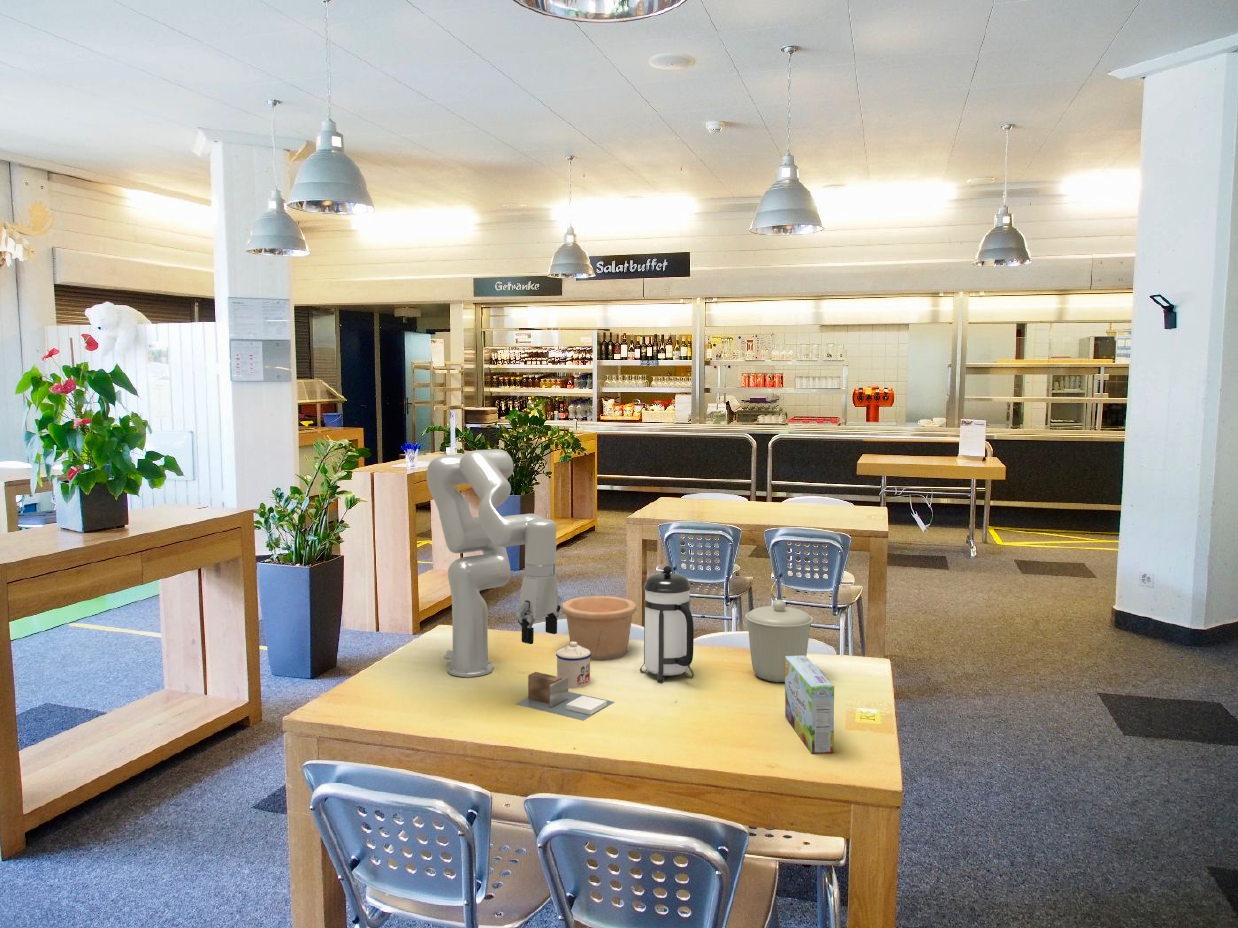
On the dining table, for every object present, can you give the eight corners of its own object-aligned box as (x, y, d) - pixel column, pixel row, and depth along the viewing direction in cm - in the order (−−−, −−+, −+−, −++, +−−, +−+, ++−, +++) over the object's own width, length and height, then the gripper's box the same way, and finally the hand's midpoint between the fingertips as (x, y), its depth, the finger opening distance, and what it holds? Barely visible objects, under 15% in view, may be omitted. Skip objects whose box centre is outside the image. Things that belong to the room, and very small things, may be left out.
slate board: (514, 707, 209) (514, 703, 209) (548, 690, 221) (548, 687, 221) (583, 724, 199) (583, 720, 198) (615, 705, 211) (615, 701, 210)
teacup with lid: (582, 693, 219) (582, 649, 218) (550, 689, 222) (550, 645, 221) (600, 679, 230) (600, 636, 229) (569, 675, 233) (569, 633, 232)
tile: (566, 704, 205) (590, 709, 201) (582, 695, 211) (606, 700, 207) (566, 709, 205) (590, 715, 202) (582, 700, 211) (606, 706, 208)
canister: (783, 692, 220) (785, 612, 218) (730, 675, 234) (731, 599, 232) (825, 677, 232) (827, 600, 230) (772, 661, 246) (773, 589, 244)
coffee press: (629, 680, 229) (630, 569, 226) (650, 663, 244) (650, 558, 241) (692, 689, 222) (693, 575, 220) (709, 670, 237) (710, 563, 235)
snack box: (782, 717, 204) (783, 654, 203) (805, 716, 204) (806, 654, 203) (809, 754, 183) (811, 685, 182) (835, 753, 183) (837, 684, 182)
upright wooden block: (523, 701, 211) (523, 677, 210) (540, 692, 217) (540, 669, 216) (551, 707, 206) (551, 683, 206) (568, 699, 212) (568, 675, 212)
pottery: (649, 648, 258) (649, 601, 257) (609, 668, 239) (610, 617, 238) (589, 637, 269) (589, 592, 268) (547, 655, 251) (547, 607, 250)
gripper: (548, 561, 219) (547, 626, 221) (505, 574, 204) (505, 644, 206) (573, 565, 215) (572, 632, 217) (531, 578, 200) (530, 650, 202)
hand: (539, 637), depth 211 cm, fingers open, 9 cm apart
